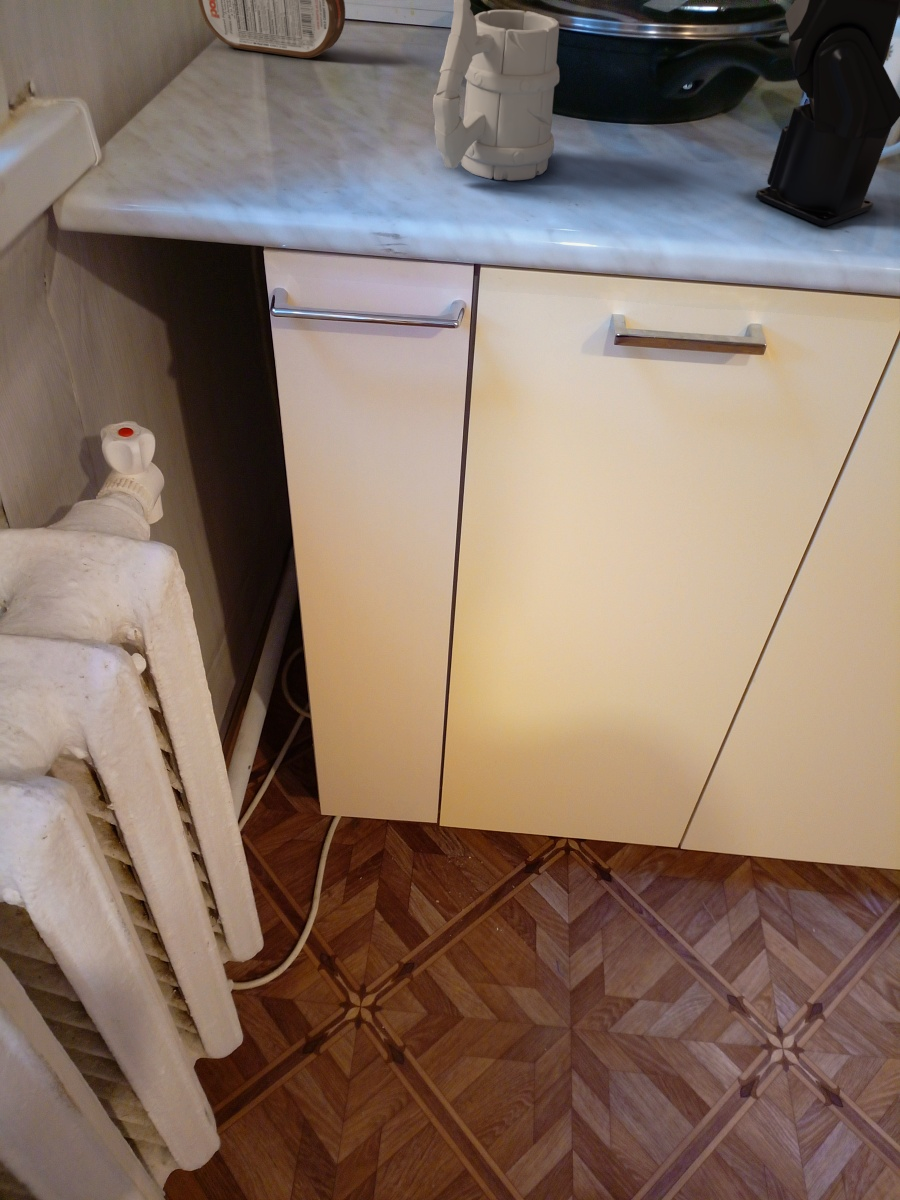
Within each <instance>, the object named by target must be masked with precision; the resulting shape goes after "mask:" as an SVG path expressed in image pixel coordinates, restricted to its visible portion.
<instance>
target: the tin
mask: <svg viewBox="0 0 900 1200" xmlns="http://www.w3.org/2000/svg"><path fill="white" fill-rule="evenodd" d="M197 3H198V7H199V9H200V12H201V13H200V14H201V15H202V18H203V20H204V22H205V23H206V25H207V27H208V28H209V29H210V31H211V32H212V34H214V35H215V36H216V37H217V38H218V39H219V40H220V41H221V42H222V43H224V44H226V45H228V46H230V47H232V48H234V49H238V50H239V49H240V50H246V51H252V52H258V53H259V52H260V53H267V54H273V55H281V56H287V57H294V58H301V59H311V58H315V57H317V56H319V55H322V54H323V53H324V52H326V51H328V50H329V49H330V48H332V47H333V46H334V45H336V43H337V42H338V40H339V39H340V37H341V35H342V33H343V30H344V27H345V21H346V4H345V0H197Z"/></svg>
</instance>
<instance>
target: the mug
mask: <svg viewBox="0 0 900 1200" xmlns="http://www.w3.org/2000/svg"><path fill="white" fill-rule="evenodd" d="M471 5H472V4H471V0H453V13H452V14H453V15H452V21H451V27H450V33H449V34H448V38H447V43H446V48H445V51H444V57H443V60H442V64H441V66H440V68H439V73H440V77H439V80H438V85H437V89H436V93H434V95H433V99H432V110H433V118H434V121H435V122H434V136H435V143H436V148H437V150H438V151H440V153H441V157H442V161H443V164H444V167H445V168H447V169H457V167H458V166H459V164H461V167H462V168H463V169H465V170H466V171H467V172H468V173H470V174H472V175H475V176H477V177H482V178H485V179H489V180H491V179H494V180H495V181H496V180H497V181H502V180H507V181H525V180H532V179H534V178H535V177H536V176H540V175H542V174H543V173H545V171H546V170H547V169H548V165H549V159H550V158H551V156H552V155H553V152H554V149H555V138H554V135H553V132H552V126H553V125H552V124H553V107H554V96H555V95H554V94H555V87H556V86H557V85H558V84H559V83H560V67H559V65H558V63H557V59H558V46H559V35H560V24H559V23H560V22H559V21H558V20H557V19H556V18H554V17H551V16H547V15H543V14H540V13H537V12H534V11H530V10H529V11H528V10H527V11H525V10H521V9H490V10H487V11H482V12H478V13H477V14H475V15H474V13H473V11H472V9H471ZM464 78H465V80H466V86H465V87H466V88H465V98H464V110H463V119H462V117H461V111H460V110H461V106H460V105H461V95H460V91H461V87H462V84H463V81H464Z"/></svg>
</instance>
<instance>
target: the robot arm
mask: <svg viewBox="0 0 900 1200" xmlns="http://www.w3.org/2000/svg"><path fill="white" fill-rule="evenodd" d="M899 14H900V0H794V1H793V3H792V4H791V6H790V7H789V9H788V10H787V11H786V12H785V14H784V19H785V23H786V27H787V31H788V50H789V55H790V60H791V64H792V68H793V69H792V70H793V73H794V77H795V79H796V81H797V83H798V86H799V89H801V91H803V93H804V94H805V96H806V98H808V102H809V103H806V104H801V105H797V106H794V107H793V110H792V113H791V116H790V119H789V123H788V125H786V126H784V127H783V128H782V129H781V132H780V136H779V140H778V142H777V146H776V149H775V153H774V155H773V159H772V163H771V166H770V170H769V174H768V176H767V180H766V182H767V185H768V186H766V187H763V188H760V189H757V191H756V192H755V193H756V194H755V198H756V199H757V200H760V201H762V202H764V203H766V204H769V205H771V206H773V207H776V208H778V209H780V210H783V211H784V212H787V213H790V214H792V215H795V216H797V217H799V218H801V219H803V220H806V221H809V222H811V223H813V224H815V225H818V226H822V227H825V226H829V225H832V224H835V223H838V222H841V221H844V220H846V219H849V218H852V217H855V216H858V215H860V214H863V213H865V212H868V211H871V210H872V208H873V206H874V202H873V201H871V200H870V199H867V198H866V196H867V194H868V191H869V189H870V185H871V183H872V180H873V178H874V175H875V173H876V170H877V167H878V165H879V162H880V159H881V157H882V154H883V151H884V150H885V149H884V148H885V146H886V145H887V141H888V138H889V136H890V134H891V131H892V128H893V126H894V125H895V124H896V123H897V121H898V120H899V119H900V95H899V94H898V92H897V89H896V88H895V86H894V84H893V82H892V80H891V78H890V75H889V74H888V71H887V70H886V68H885V63H886V60H887V57H888V54H889V50H890V47H891V43H892V40H893V36H894V32H895V29H896V25H897V21H898V19H899Z"/></svg>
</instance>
